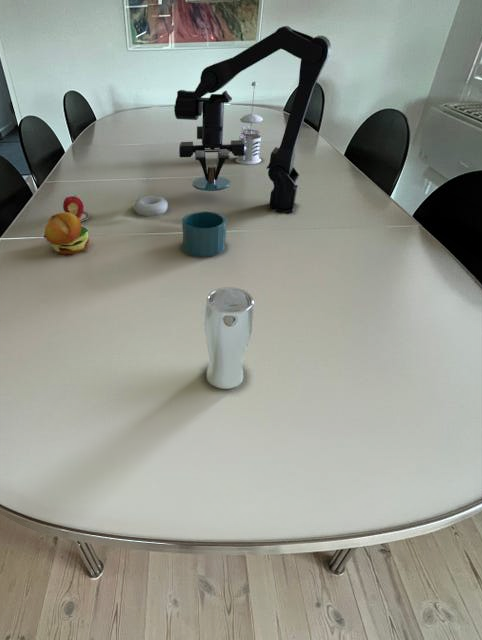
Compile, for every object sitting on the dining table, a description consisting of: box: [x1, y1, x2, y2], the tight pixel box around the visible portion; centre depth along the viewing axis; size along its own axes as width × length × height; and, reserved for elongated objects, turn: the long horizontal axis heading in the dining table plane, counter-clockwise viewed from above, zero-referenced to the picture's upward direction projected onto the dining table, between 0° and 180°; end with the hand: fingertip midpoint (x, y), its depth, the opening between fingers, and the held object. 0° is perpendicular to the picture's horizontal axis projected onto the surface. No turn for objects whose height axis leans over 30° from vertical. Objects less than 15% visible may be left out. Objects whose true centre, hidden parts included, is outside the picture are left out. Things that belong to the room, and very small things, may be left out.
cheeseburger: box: [43, 211, 90, 255], centre depth 101 cm, size 10×11×10 cm
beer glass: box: [204, 286, 255, 390], centre depth 62 cm, size 7×7×15 cm
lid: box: [191, 164, 231, 192], centre depth 121 cm, size 11×11×6 cm
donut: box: [133, 195, 169, 217], centre depth 119 cm, size 10×4×10 cm
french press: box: [235, 81, 264, 165], centre depth 146 cm, size 10×12×25 cm
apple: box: [62, 194, 91, 223], centre depth 115 cm, size 8×8×6 cm
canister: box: [181, 211, 227, 258], centre depth 99 cm, size 10×10×7 cm
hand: (211, 180), depth 121 cm, fingers closed on lid, 2 cm apart
